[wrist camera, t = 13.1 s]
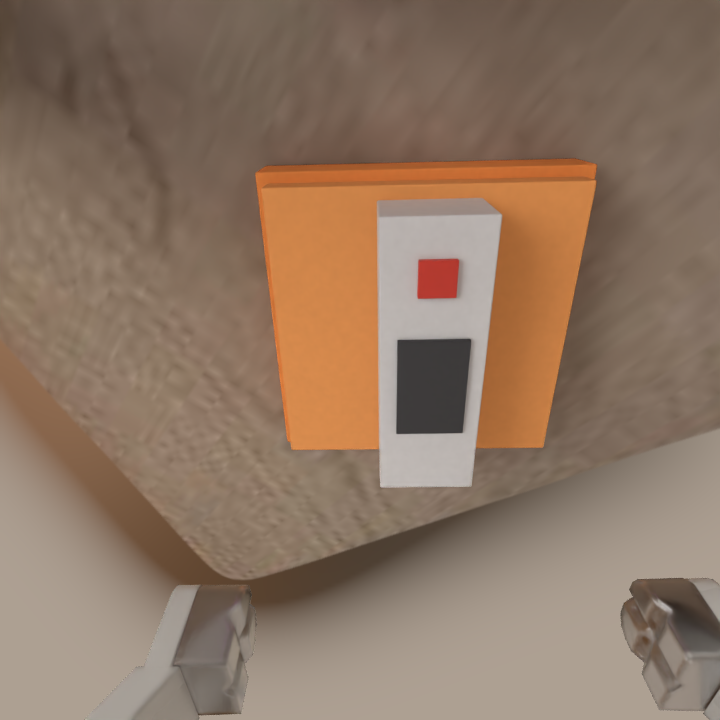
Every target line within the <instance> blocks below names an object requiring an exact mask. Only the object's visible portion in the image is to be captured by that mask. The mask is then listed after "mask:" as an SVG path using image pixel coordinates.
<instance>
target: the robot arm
mask: <svg viewBox="0 0 720 720" xmlns="http://www.w3.org/2000/svg"><path fill="white" fill-rule="evenodd" d="M629 590H630V592H631V594H632V596H633V597H632V598H631V599H629V600H628V601H626V602H625V603H624V605H623V608H622V610H621V626H622V629H623V633H624V636H625V639H626V641H627V643H628V645H629V648H630V650H631V651H632V652H633V653H634V654H635V655H636V656H637V657H639V658H640V659H641V660H642V661H643V662H644V665H643V671H642V675H643V677H644V679H645V681H646V683H647V686H648V688H649V690H650V692H651V694H652V696H653V698H654V700H655V702H656V704H657V706H658V708H659V710H674V711H676V710H677V711H705V712H704V713H703V714H704V715H705V716H706V717H707V718H708V719H709V720H720V585H719V584H718V583H717V582H716V581H714V580H713V579H709V578H691V579H684V578H667V579H637V580H636V581H634V582H633V583H632V585H631V587H630V589H629ZM251 595H252V594H251V591H250V587H249V585H177V587H176V588H175V589H174V591H173V592H172V594H171V596H170V599H169V602H168V604H167V607H166V609H165V612H164V615H163V617H162V620H161V623H160V625H159V628H158V631H157V633H156V636H155V639H154V641H153V644H152V646H151V649H150V652H149V654H148V657H147V660H146V662H145V665H144V666H143V667H142V666H141V667H136V668H135V669H134V670H133V671H132V672H131V673H130V674H129V675H128V676H127V677H126V678H125V679H124V680H123V681H122V682H121V683H120V684H119V685H118V686H117V687H116V688H115V689H114V690H113V691H112V692H111V693H110V694H109V695H108V696H107V697H106V698H105V699H104V700H103V701H102V702H101V703H100V704H99V705H98V706H97V707H96V708H95V709H94V710H93V711H92V712H91V713H90V714H89V715H88V716H87V717H86V718H85V719H84V720H199V716H198V715H220V714H241V712H242V707H243V702H244V697H245V692H246V687H247V682H248V675H247V670H246V667H245V663H246V662H247V661H248V660H249V658H250V657H251V656H252V655H253V651H254V645H255V638H256V626H257V623H256V612H255V608H254V607H253V606H252V605H251V604H250V600H251Z"/></svg>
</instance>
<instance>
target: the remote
mask: <svg viewBox="0 0 720 720" xmlns="http://www.w3.org/2000/svg"><path fill="white" fill-rule="evenodd" d="M501 223H502V214H501V213H500V212H499V211H497V210H496V209H495V208H494V207H493V206H491V205H490V204H489V203H488V202H487V201H485V200H484V199H483V198H454V199H412V200H378V201H377V287H378V402H379V464H380V486H381V487H470V486H471V485H472V477H473V468H474V459H475V451H476V442H477V433H478V424H479V416H480V407H481V398H482V389H483V381H484V372H485V363H486V354H487V346H488V337H489V328H490V319H491V311H492V302H493V293H494V284H495V276H496V267H497V258H498V250H499V241H500V232H501Z"/></svg>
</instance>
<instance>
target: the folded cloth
mask: <svg viewBox="0 0 720 720" xmlns="http://www.w3.org/2000/svg"><path fill="white" fill-rule="evenodd" d="M596 169H597V165H596V164H594V163H590V162H586V161H583V160H579V159H534V160H492V161H449V162H407V163H365V164H322V165H280V166H265V167H264V168H262V169H261V170H259V171H257V172H256V174H255V175H256V184H257V192H258V200H259V208H260V217H261V225H262V233H263V242H264V250H265V258H266V266H267V275H268V283H269V291H270V300H271V308H272V316H273V325H274V333H275V341H276V349H277V358H278V366H279V374H280V383H281V391H282V399H283V407H284V416H285V424H286V432H287V440H288V442H291V448H292V450H338V449H379V402H378V287H377V201H378V200H412V199H454V198H483V199H484V200H485V201H487V202H488V203H489V204H490V205H491V206H493V207H494V208H495V209H496V210H497V211H499V212H500V213H501V214H502V223H501V232H500V241H499V250H498V258H497V267H496V276H495V284H494V293H493V302H492V311H491V319H490V328H489V337H488V346H487V354H486V363H485V372H484V381H483V389H482V398H481V407H480V416H479V424H478V433H477V442H476V448H542V447H543V445H544V440H545V435H546V430H547V425H548V420H549V415H550V411H551V406H552V401H553V396H554V391H555V386H556V381H557V376H558V371H559V366H560V361H561V356H562V351H563V346H564V341H565V337H566V332H567V327H568V322H569V317H570V312H571V307H572V302H573V297H574V292H575V287H576V282H577V277H578V272H579V267H580V262H581V258H582V253H583V248H584V243H585V238H586V233H587V228H588V223H589V218H590V213H591V208H592V203H593V198H594V193H595V188H596V184H597V181H596V180H594V179H595V174H596Z"/></svg>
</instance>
